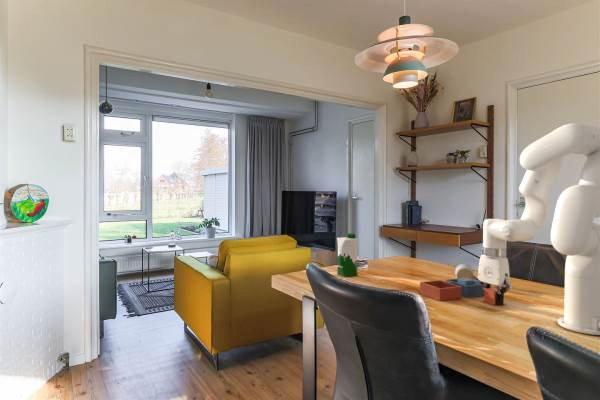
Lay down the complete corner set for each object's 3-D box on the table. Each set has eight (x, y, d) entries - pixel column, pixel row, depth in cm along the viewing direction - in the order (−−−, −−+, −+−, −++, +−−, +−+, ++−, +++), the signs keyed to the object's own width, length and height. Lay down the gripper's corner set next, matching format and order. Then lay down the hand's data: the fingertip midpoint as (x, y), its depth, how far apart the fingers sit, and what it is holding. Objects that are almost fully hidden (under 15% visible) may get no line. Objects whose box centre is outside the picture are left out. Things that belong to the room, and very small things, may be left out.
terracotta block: (503, 304, 132) (503, 290, 132) (494, 305, 130) (494, 291, 130) (492, 300, 136) (493, 287, 136) (484, 301, 134) (484, 288, 134)
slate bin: (487, 295, 143) (487, 284, 143) (466, 297, 139) (467, 286, 139) (464, 288, 153) (465, 278, 153) (445, 290, 150) (445, 279, 150)
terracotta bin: (461, 298, 138) (461, 286, 138) (439, 300, 135) (440, 288, 135) (440, 291, 149) (440, 280, 149) (419, 293, 145) (420, 281, 145)
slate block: (474, 292, 145) (474, 280, 145) (465, 293, 144) (465, 280, 144) (465, 289, 149) (465, 277, 149) (457, 290, 148) (457, 278, 148)
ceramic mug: (455, 283, 163) (456, 266, 162) (454, 279, 170) (455, 263, 170) (481, 286, 159) (482, 268, 159) (480, 282, 166) (480, 265, 166)
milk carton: (359, 275, 176) (360, 234, 176) (343, 277, 172) (344, 235, 172) (349, 272, 184) (350, 232, 184) (334, 273, 180) (334, 233, 180)
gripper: (468, 249, 139) (467, 297, 140) (507, 256, 124) (506, 310, 124) (483, 249, 142) (482, 295, 142) (523, 255, 126) (522, 308, 126)
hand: (493, 301), depth 133 cm, fingers closed on terracotta block, 4 cm apart
